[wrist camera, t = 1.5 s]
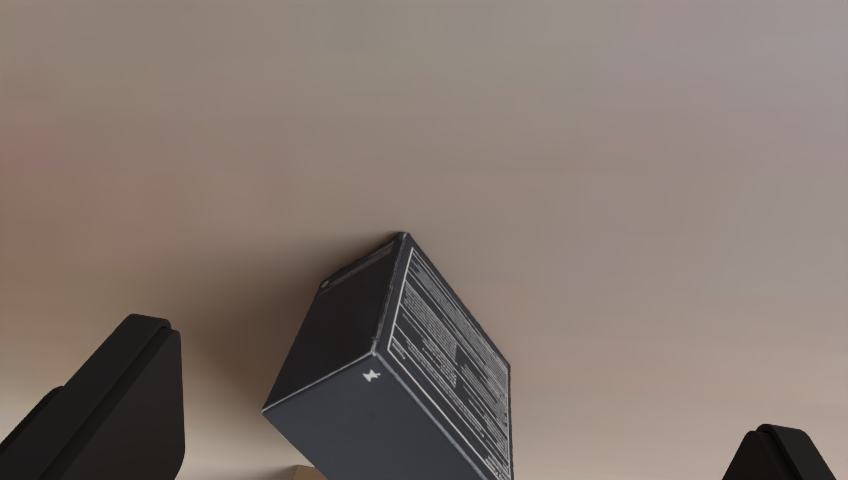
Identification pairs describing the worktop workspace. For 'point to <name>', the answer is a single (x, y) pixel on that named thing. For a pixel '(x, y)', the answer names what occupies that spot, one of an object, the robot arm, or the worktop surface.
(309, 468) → the walnut block
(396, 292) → the small box
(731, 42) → the worktop surface
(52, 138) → the worktop surface
